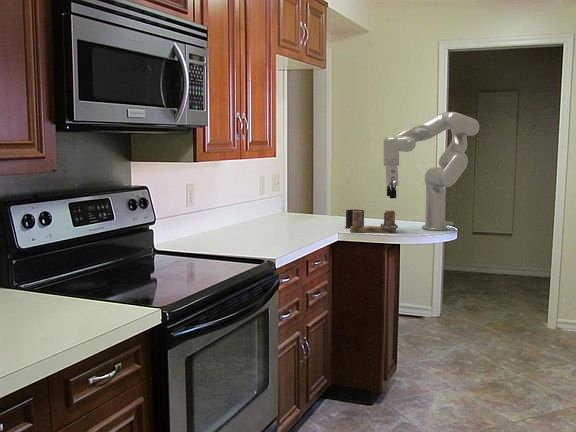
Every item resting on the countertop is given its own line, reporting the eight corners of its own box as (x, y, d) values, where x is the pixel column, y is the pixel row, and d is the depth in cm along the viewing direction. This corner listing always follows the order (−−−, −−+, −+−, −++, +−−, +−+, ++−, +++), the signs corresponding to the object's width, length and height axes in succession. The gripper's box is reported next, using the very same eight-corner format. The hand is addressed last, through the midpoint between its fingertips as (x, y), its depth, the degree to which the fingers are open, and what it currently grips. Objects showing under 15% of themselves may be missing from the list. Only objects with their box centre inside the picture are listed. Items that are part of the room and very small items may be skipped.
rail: (395, 230, 314) (395, 210, 313) (397, 233, 307) (398, 212, 305) (350, 230, 314) (350, 210, 313) (351, 233, 307) (351, 212, 306)
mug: (368, 226, 329) (369, 209, 328) (359, 229, 319) (359, 212, 317) (352, 225, 334) (352, 208, 332) (342, 228, 323) (342, 210, 322)
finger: (393, 226, 312) (393, 210, 311) (394, 227, 308) (395, 211, 307) (383, 226, 312) (384, 210, 311) (384, 227, 308) (385, 211, 307)
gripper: (402, 163, 297) (402, 199, 300) (396, 161, 315) (396, 195, 317) (386, 163, 298) (386, 199, 300) (381, 161, 315) (381, 195, 317)
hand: (391, 197), depth 309 cm, fingers open, 9 cm apart
